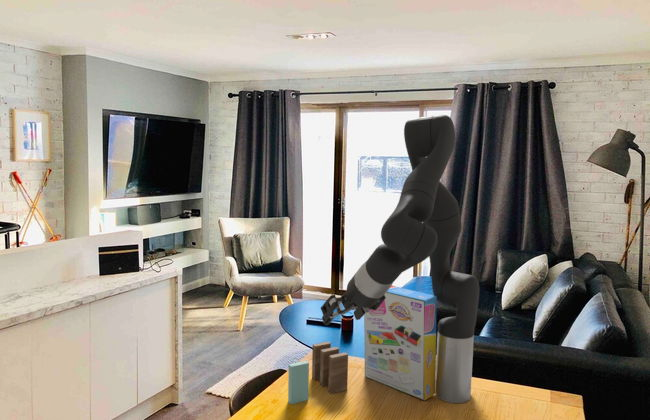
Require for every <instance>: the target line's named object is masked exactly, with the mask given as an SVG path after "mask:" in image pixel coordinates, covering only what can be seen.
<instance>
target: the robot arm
mask: <svg viewBox="0 0 650 420" xmlns="http://www.w3.org/2000/svg"><path fill="white" fill-rule="evenodd" d="M403 138H404V143H405V144H404V145H405V148H406V152H407V156H408V160H409V163H410V167H411V170H412V171H411V172H410V173H409V174H408V176H406V178H405V181H404V182H403V185H402V190H401V193H400V196H399V200H398V203H397V205H396V207H395V209H394V210H393V212H392V213H391V214H390V216H388V218H387V219H386V220H385V222H384V224H383V225H382V227H381V231H380V238H381V241H382V242H383V243H382V244H380V245H378V246H377V247H376V248H375V249H374V250H373V252H372V253H371V255H369V257H368V259H367V260H366V261H364V262H363V263H362V265H360V267H359V268H358V270H357V271H356V272H355V273H354V275H353V276H352V277H351V279H350V280H349V281H348V283H347V285H346V286H347V287H346V291H345V293H344V294H342V295H341V296H340V297H336V294H331V295H330V296H329V297H328V298H327V299H326V301H325V302H324V303H323V304H322V305H321V306H320V311H321V313H322V316H321V320H322V322H323V324H324V325H325V326H329V325H330V324H331V322H332V321H333V320H334V319H335V318H336V317H337V316H340V315H341V316H343V315H346V314H347V313H349V312H351V311H353V315H354V316H353V317H354V318H355V320H356V321H358V320H361V319H362V318H363V317H364V314H365V313H368V312H369V311H370V309H372V310H376V309H377V308H378V307H379V306H380V305H381V303H382V302H383V301H384V300H385V299H386V297H385V295H384V294H385V293H386V292H387V291H388V290H389V288H390V287H391V285H392V286H393V284H394V282H395V281H396V280H397V279H398V278H399V276H401V274H402V273H404V272H406V271H407V270H409V269H411V268H413V267H415V266H417V265H419V264H420V263H423V262H424V261H425V260H427V259H428V258H429V263H430V267H429V268H430V277H431V288H432V293H433V294H432V295H434V296H437V304H440V305H442V306H446V307H449V308H453V309H456V314H455V316H448V317H444V318H441V319H439V321H438V324H437V336H436V378H435V394H434V395H435V396H436V397H437V398H438V399H440V400H442V401H444V402H448V403H453V404H462V403H466V402H468V401H470V400H471V397H472V396H471V395H472V393H471V392H472V391H471V390H472V376H473V374H472V373H473V360H474V359H473V357H474V340H475V339H474V337H475V328H476V324H477V321H478V320H477V318H478V307H479V301H480V284H479V283H480V282H479V280H478V278H477V277H476V276H474V275H472V274H469V273H468V274H467V273H464V272H459V271H458V272H457V271H453V270H452V267H451V260H450V256H451V252H452V250H453V248H454V246H455V245H456V243H457V241H458V239H459V238H460V235H461V232H462V228H463V227H462V224H463V223H462V218H461V213H460V212H461V211H460V206H459V203H458V200H457V198H456V197H455V196H454V195H453V193H451V191H450V190H449V189H448V188H447V187H446V186H445V185H444V184H443V183H442V182H441V179H442V177H443V175H444V173H445V170H446V168H447V166H448V164H449V161H450V159H451V157H452V154H453V151H454V150H455V149H454V148H455V144H456V128H455V125H454V122H453V119H452V118H451V116H449V115H447V114H435V115H430V116H421V117H415V118H410V119H408V120H407V121H406V122H405V124H404V128H403ZM341 306H343V308H344V309H343V308H342V307H341ZM335 310H336V311H335Z"/></svg>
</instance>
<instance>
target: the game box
mask: <svg viewBox="0 0 650 420" xmlns="http://www.w3.org/2000/svg"><path fill="white" fill-rule="evenodd" d="M384 295H385V297H386V299H385V300H384V301H383V302H382V303H381V305H380V306H379V307H378V308H377V309H376V310H372V309H370V311H369V312H368V313H365V314H364V315H363V318H364V321H363V323H364V325H363V327H364V377H365V378H369V379H370V380H373V381H375V382H378V383H381V384H382V385H385V386H387V387H390V388H392V389H394V390H396V391H400V392H401V393H402V392H403V393H405V394H407V395H410V396H413V397H415V398H418V399H420V400H422V401H427V400H428V399H429V398H431V397H433V396H434V395H435V380H436V360H437V304H438V302H437V296H434V294H430V293H429V294H428V293H425V292H421V291H416V290H413V289H412V290H411V289H410V288H409V289H408V288H404V287H400V286H396V285H393V284H392V285H391V287H390V288H389V290H388V291H387V292H386V293H385V294H384Z"/></svg>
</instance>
